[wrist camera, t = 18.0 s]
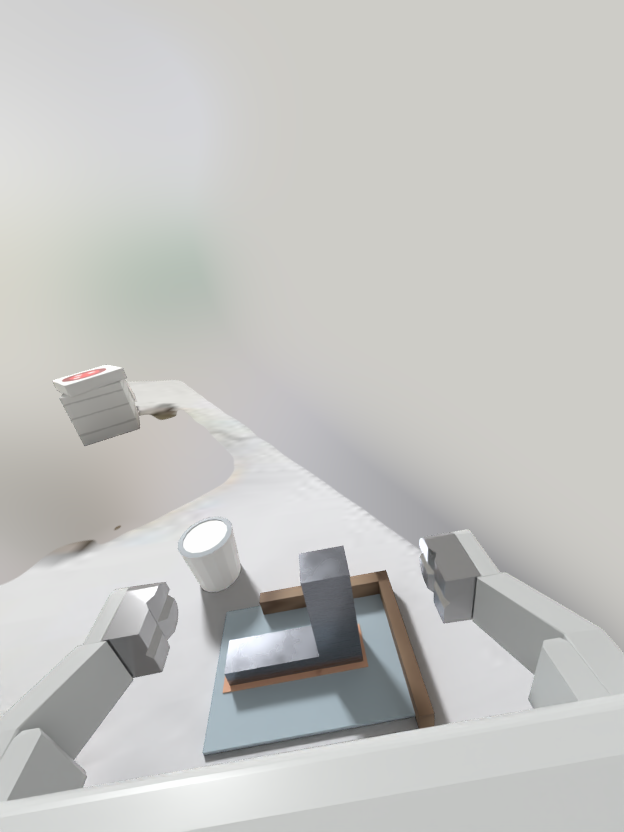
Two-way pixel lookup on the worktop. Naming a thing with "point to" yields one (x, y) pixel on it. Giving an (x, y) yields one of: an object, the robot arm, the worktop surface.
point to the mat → (307, 685)
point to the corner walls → (382, 586)
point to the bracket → (309, 645)
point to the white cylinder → (211, 553)
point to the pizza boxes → (99, 403)
